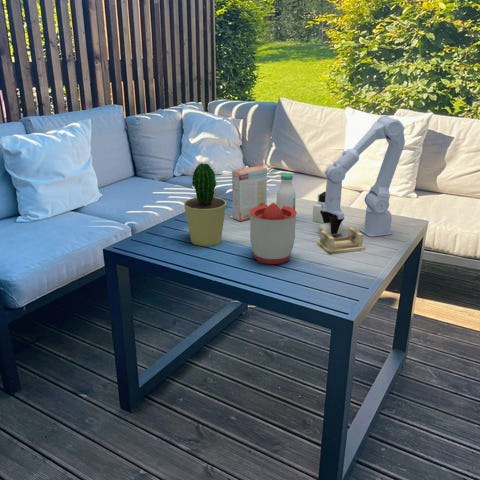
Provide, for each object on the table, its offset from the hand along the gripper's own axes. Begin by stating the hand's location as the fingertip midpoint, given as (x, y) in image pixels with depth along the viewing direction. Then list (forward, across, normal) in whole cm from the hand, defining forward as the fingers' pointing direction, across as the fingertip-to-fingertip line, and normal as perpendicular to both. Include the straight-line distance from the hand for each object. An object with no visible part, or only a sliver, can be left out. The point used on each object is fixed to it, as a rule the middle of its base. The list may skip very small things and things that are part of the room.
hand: (330, 231), depth 195 cm
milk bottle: (+2, -19, -11) cm, 22 cm away
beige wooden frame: (+2, +12, -2) cm, 12 cm away
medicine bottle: (+2, -16, +5) cm, 17 cm away
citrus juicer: (+2, +13, -29) cm, 32 cm away
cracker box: (+2, -29, -23) cm, 37 cm away
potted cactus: (+2, -9, -47) cm, 48 cm away
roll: (+2, 0, 0) cm, 2 cm away
